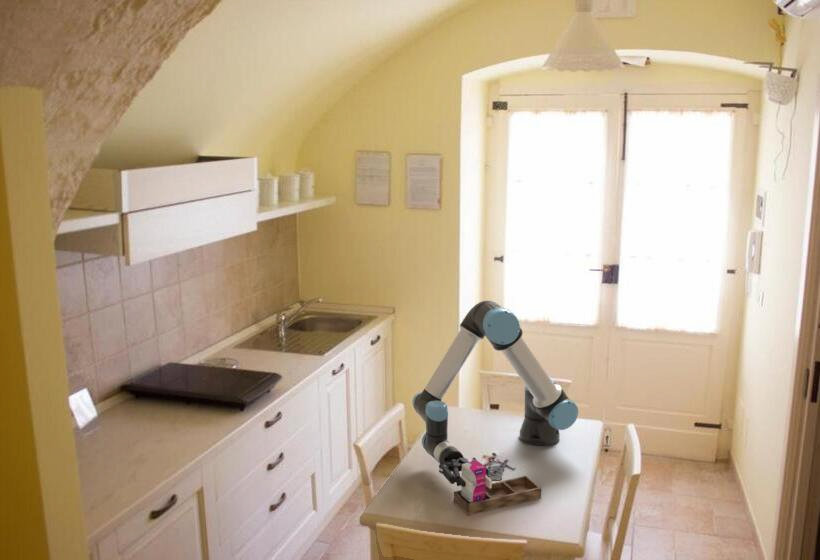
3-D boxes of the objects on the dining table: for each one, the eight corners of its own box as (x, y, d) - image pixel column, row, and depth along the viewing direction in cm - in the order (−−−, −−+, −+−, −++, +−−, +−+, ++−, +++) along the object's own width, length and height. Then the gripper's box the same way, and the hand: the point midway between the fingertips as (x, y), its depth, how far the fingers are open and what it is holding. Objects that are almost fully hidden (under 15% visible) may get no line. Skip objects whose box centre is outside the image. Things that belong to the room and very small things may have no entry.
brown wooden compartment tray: (525, 485, 259) (525, 475, 258) (541, 498, 250) (541, 488, 249) (453, 501, 249) (453, 491, 248) (467, 515, 240) (467, 505, 239)
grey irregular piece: (501, 483, 262) (501, 478, 261) (481, 481, 264) (481, 475, 263) (510, 458, 281) (510, 453, 281) (492, 456, 283) (492, 451, 283)
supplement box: (470, 504, 242) (470, 471, 239) (460, 496, 247) (460, 463, 244) (486, 500, 244) (486, 466, 242) (476, 492, 249) (476, 459, 247)
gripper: (473, 462, 265) (507, 491, 244) (423, 472, 258) (453, 503, 237) (473, 441, 263) (508, 469, 242) (422, 451, 256) (453, 481, 235)
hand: (481, 486), depth 240 cm, fingers closed on supplement box, 6 cm apart
